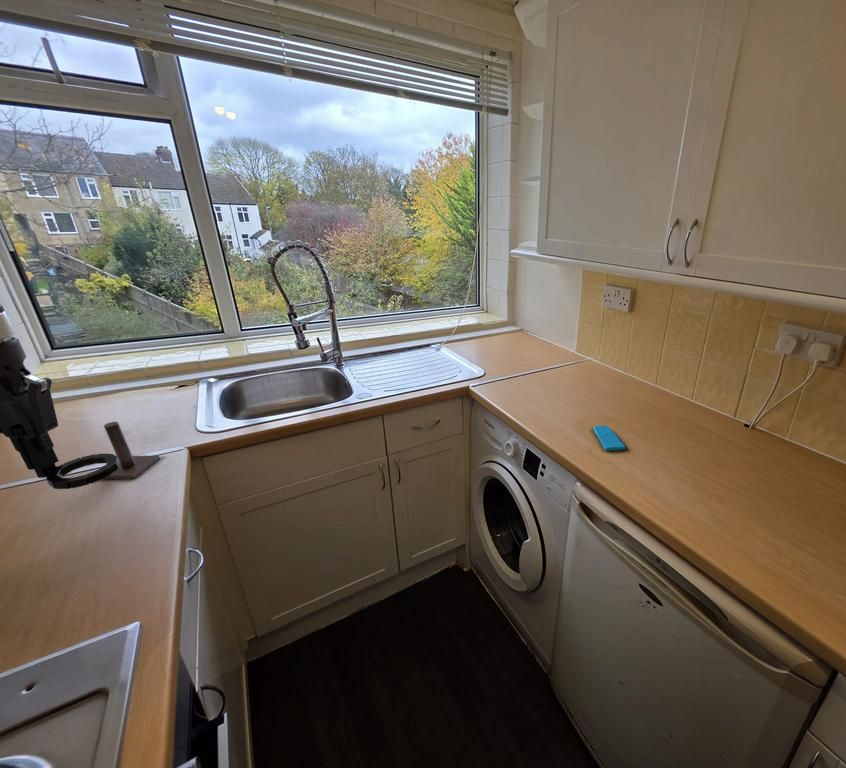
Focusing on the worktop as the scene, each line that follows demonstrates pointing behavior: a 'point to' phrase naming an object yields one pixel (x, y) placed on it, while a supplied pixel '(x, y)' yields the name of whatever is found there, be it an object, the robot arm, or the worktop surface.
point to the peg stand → (126, 455)
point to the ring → (71, 467)
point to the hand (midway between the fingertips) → (43, 465)
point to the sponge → (608, 438)
